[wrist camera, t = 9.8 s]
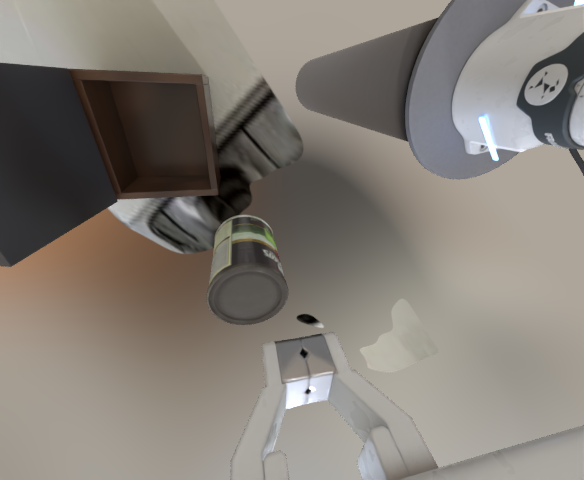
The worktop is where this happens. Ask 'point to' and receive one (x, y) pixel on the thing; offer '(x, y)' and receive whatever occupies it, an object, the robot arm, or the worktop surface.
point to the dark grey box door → (45, 161)
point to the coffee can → (246, 272)
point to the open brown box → (152, 131)
